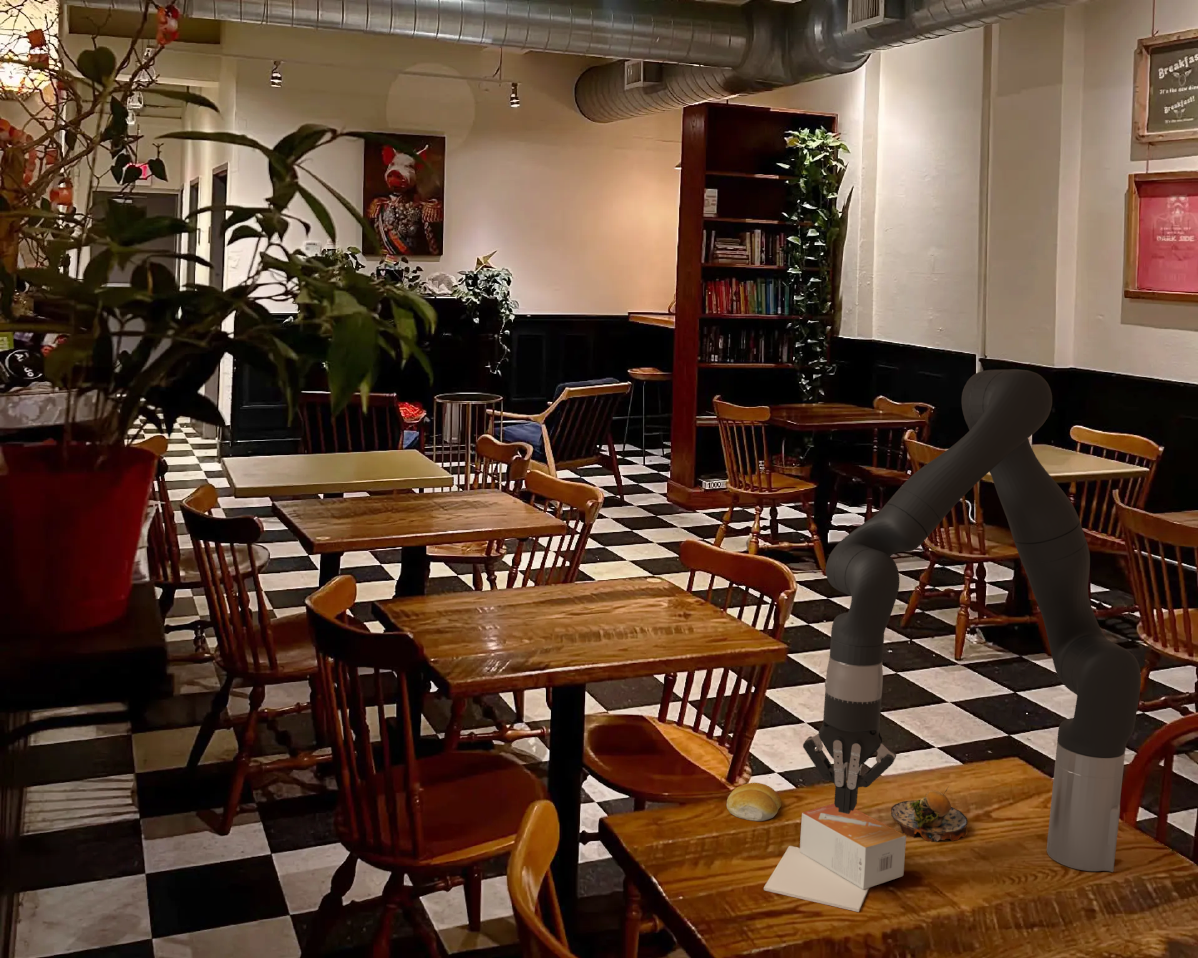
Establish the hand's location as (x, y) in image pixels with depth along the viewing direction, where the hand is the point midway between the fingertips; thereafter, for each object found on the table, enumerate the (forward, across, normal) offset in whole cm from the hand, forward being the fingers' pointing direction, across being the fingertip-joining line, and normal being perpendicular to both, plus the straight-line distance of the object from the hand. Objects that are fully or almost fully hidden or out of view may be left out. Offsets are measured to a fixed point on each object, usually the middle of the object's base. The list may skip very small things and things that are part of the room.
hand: (844, 810), depth 164 cm
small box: (+7, -6, -2) cm, 9 cm away
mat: (+11, +2, 0) cm, 11 cm away
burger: (+11, -9, -25) cm, 29 cm away
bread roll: (+11, +17, -18) cm, 27 cm away
